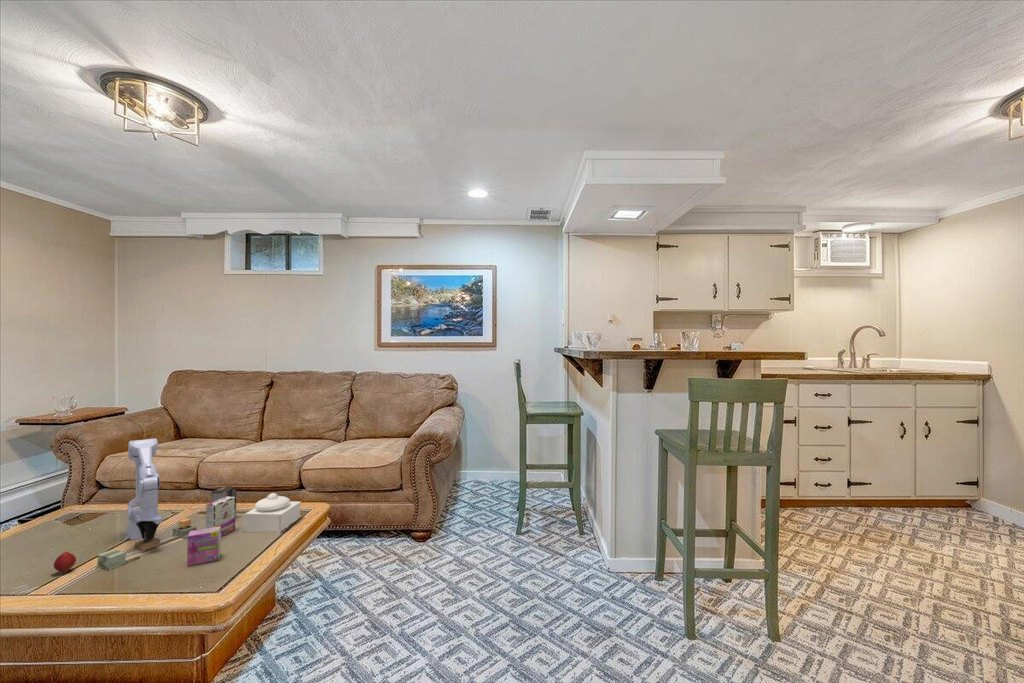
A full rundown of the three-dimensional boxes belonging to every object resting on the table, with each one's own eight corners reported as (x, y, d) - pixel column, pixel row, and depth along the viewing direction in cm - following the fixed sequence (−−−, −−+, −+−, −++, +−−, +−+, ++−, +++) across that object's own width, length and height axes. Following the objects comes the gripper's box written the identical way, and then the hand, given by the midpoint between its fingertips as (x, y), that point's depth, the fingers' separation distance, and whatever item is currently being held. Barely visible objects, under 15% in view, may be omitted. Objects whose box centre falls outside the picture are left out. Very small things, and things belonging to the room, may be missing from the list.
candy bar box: (226, 531, 200) (227, 495, 201) (235, 532, 200) (236, 496, 200) (204, 541, 190) (205, 504, 190) (214, 542, 189) (215, 504, 189)
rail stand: (97, 566, 167) (97, 554, 167) (184, 534, 197) (184, 524, 197) (109, 569, 164) (110, 558, 164) (196, 536, 194) (196, 526, 194)
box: (186, 566, 167) (187, 535, 168) (189, 560, 172) (190, 530, 173) (218, 560, 172) (219, 530, 172) (220, 554, 177) (221, 525, 177)
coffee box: (225, 517, 217) (225, 485, 218) (236, 518, 216) (237, 486, 217) (210, 524, 208) (210, 491, 209) (222, 525, 207) (222, 491, 208)
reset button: (178, 530, 192) (178, 520, 193) (186, 528, 195) (186, 518, 196) (183, 531, 191) (183, 521, 192) (190, 529, 194) (191, 519, 194)
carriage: (134, 548, 178) (134, 532, 178) (150, 542, 183) (151, 527, 184) (143, 550, 176) (144, 535, 176) (159, 544, 181) (160, 529, 182)
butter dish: (266, 518, 217) (266, 486, 217) (300, 519, 216) (301, 487, 217) (243, 532, 199) (243, 498, 200) (280, 533, 198) (281, 498, 199)
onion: (55, 577, 159) (56, 555, 159) (51, 573, 162) (52, 551, 162) (77, 570, 163) (78, 549, 164) (73, 566, 167) (73, 546, 167)
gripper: (127, 506, 179) (126, 539, 179) (149, 511, 174) (148, 545, 174) (146, 501, 186) (145, 533, 185) (168, 505, 181) (167, 538, 180)
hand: (148, 538), depth 180 cm, fingers closed on carriage, 2 cm apart
